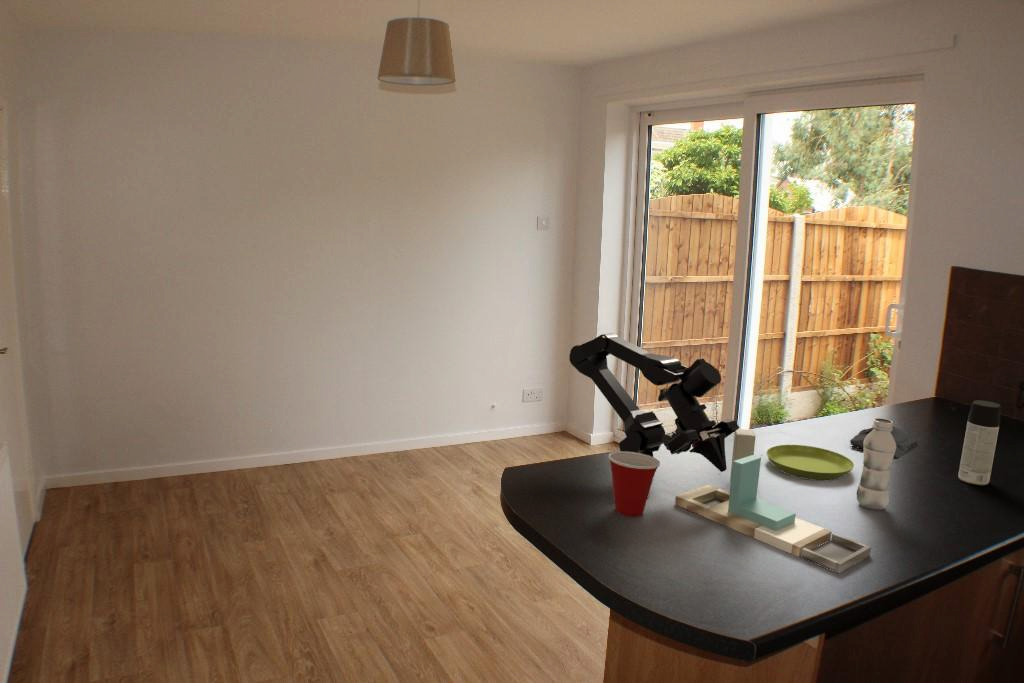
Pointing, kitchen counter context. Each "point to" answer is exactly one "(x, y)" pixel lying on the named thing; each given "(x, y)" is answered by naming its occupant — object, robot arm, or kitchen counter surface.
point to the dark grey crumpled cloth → (901, 439)
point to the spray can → (980, 442)
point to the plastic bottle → (877, 466)
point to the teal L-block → (754, 497)
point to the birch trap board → (715, 507)
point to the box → (743, 445)
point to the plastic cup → (632, 481)
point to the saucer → (809, 462)
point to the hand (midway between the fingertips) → (724, 470)
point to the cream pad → (786, 534)
